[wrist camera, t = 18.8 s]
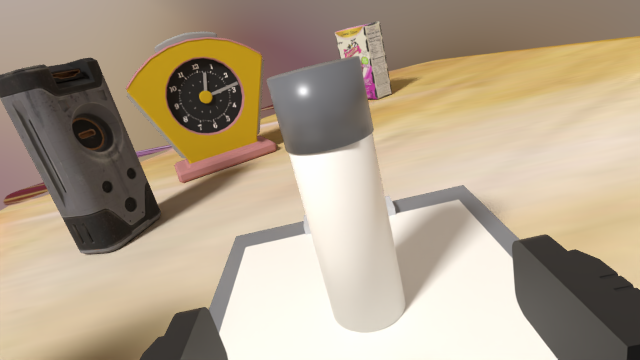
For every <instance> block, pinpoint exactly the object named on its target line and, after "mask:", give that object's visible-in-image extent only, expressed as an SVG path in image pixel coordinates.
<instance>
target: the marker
mask: <svg viewBox="0 0 640 360" xmlns="http://www.w3.org/2000/svg"><path fill="white" fill-rule="evenodd" d="M267 83H268V87H269V91H270V94H271V98H272V101H273V105H274V109H275V112H276V116H277V120H278V123H279V127H280V130H281V134H282V138H283V141H284V145H285V148H286V151H287V152H288V153H289V156H290V159H291V163H292V166H293V170H294V174H295V177H296V181H297V185H298V188H299V192H300V195H301V199H302V203H303V206H304V210H305V214H306V217H307V221H308V224H309V228H310V232H311V235H312V239H313V243H314V246H315V250H316V253H317V257H318V261H319V264H320V268H321V272H322V275H323V279H324V282H325V286H326V290H327V293H328V297H329V301H330V304H331V308H332V311H333V315H334V318H335V320H336V322H337V323H338V324H339V325H340V326H342V327H343V328H345V329H347V330H350V331H354V332H373V331H377V330H381V329H383V328H386V327H388V326H390V325H391V324H393V323H394V322H396V321H397V320H398V319H399V318H400V317H401V315H402V314H403V312H404V310H405V306H406V301H405V296H404V291H403V286H402V281H401V276H400V271H399V265H398V260H397V255H396V250H395V245H394V240H393V235H392V230H391V225H390V220H389V215H388V210H387V205H386V200H385V195H384V190H383V185H382V179H381V174H380V169H379V164H378V159H377V154H376V149H375V144H374V139H373V134H372V132H373V130H374V129H373V124H372V118H371V113H370V108H369V103H368V98H367V93H366V88H365V83H364V78H363V72H362V67H361V62H360V57H359V56H353V57H348V58H342V59H338V60H333V61H329V62H324V63H321V64H316V65H312V66H309V67H304V68H300V69H297V70H293V71H290V72H286V73H283V74H280V75H276V76H274V77H271V78H268V79H267Z"/></svg>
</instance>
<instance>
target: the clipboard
mask: <svg viewBox="0 0 640 360" xmlns="http://www.w3.org/2000/svg"><path fill="white" fill-rule="evenodd" d="M385 200H386V205H387V210H388V215H389V220H390V225H391V230H392V235H393V240H394V245H395V250H396V255H397V260H398V265H399V271H400V276H401V281H402V286H403V291H404V296H405V301H406V306H405V310H404V312H403V314H402V315H401V317H400V318H399V319H398V320H397V321H396V322H394V323H393V324H391V325H390V326H388V327H386V328H383V329H381V330H377V331H373V332H354V331H350V330H347V329H345V328H343V327H342V326H340V325H339V324H338V323H337V322H336V320H335V318H334V315H333V311H332V308H331V304H330V301H329V297H328V293H327V290H326V286H325V282H324V279H323V275H322V272H321V268H320V264H319V261H318V257H317V253H316V250H315V246H314V243H313V239H312V235H311V232H310V228H309V224H308V221H307V217H306V215H304V221H302V222H298V223H294V224H289V225H285V226H280V227H276V228H271V229H267V230H263V231H258V232H254V233H249V234H245V235H240V236H236V238H235V241H234V244H233V246H232V249H231V252H230V254H229V257H228V260H227V262H226V265H225V268H224V271H223V273H222V276H221V279H220V281H219V284H218V287H217V289H216V292H215V295H214V297H213V300H212V303H211V305H210V308H209V311H210V313H211V316H212V318H213V320H214V323H215V325H216V328H217V330H218V333H219V335H220V337H221V340H222V342H223V345H224V347H225V350H226V352H227V357H228V360H558V359H557V358H556V356H555V355H554V354H553V353H552V351H551V350H550V349H549V347H548V346H547V345H546V344H545V342H544V341H543V340H542V338H541V337H540V336H539V334H538V333H537V332H536V331H535V329H534V328H533V327H532V325H531V324H530V323H529V322H528V320H527V319H526V318H525V316H524V315H523V313H522V311H521V309H520V307H519V304H518V302H517V299H516V294H515V285H514V271H513V258H512V244H513V242H514V241H517V240H520V239H519V238H518V237H517V236H515V235H514V234H513V233H512V232H511V231H510V230H509V229H508V228H507V227H506V226H505V225H504V224H503V223H502V222H501V221H500V220H499V219H498V218H497V217H496V216H495V215H494V214H493V213H492V212H491V211H489V210H488V209H487V208H486V207H485V206H484V205H483V204H482V203H481V202H480V201H479V200H478V199H477V198H476V197H475V196H474V195H473V194H472V193H471V192H470V191H469V190H468V189H467V188H466V187H465V186H464V185H462V186H457V187H453V188H449V189H444V190H440V191H435V192H431V193H426V194H422V195H418V196H413V197H409V198H404V199H400V200H395V201H391V199H390V197H389V196H385Z"/></svg>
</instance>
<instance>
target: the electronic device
mask: <svg viewBox="0 0 640 360" xmlns="http://www.w3.org/2000/svg"><path fill="white" fill-rule="evenodd" d="M0 99H1V101H2V103H3V105H4V106H5V109H6V110H7V113H8V114H9V116H10V118H11V120H12V122H13V124H14V126H15V128H16V130H17V131H18V133H19V136H20V137H21V139H22V141H23V143H24V145H25V147H26V149H27V151H28V153H29V155H30V157H31V158H32V160H33V162H34V164H35V166H36V168H37V170H38V172H39V174H40V175H41V178H42V180H43V181H44V183H45V185H46V187H47V189H48V191H49V193H50V195H51V197H52V199H53V201H54V203H55V204H56V206H57V208H58V210H59V212H60V214H61V216H62V218H63V220H64V222H65V224H66V226H67V227H68V229H69V231H70V233H71V235H72V237H73V239H74V241H75V243H76V245H77V247H78V249H79V250H80V252H81V253H85V254H96V253H108V252H112V251H115V250H117V249H119V248H121V247H122V246H124V245H125V244H126V243H127V242H129V241H130V240H131V239H133V238H134V237H135V236H137V235H138V234H139V233H141V232H142V231H143V230H145V229H146V228H147V227H148V226H150V225H151V224H152V223H154V222H155V221H156V220H157V219H159V217H160V215H161V212H160V209H159V207H158V205H157V202H156V200H155V197H154V195H153V193H152V190H151V188H150V186H149V183H148V181H147V178H146V176H145V174H144V171H143V169H142V167H141V164H140V162H139V159H138V157H137V155H136V152H135V150H134V148H133V145H132V143H131V140H130V138H129V136H128V134H127V131H126V129H125V127H124V124H123V122H122V119H121V117H120V114H119V112H118V110H117V107H116V105H115V102H114V100H113V98H112V95H111V93H110V91H109V88H108V86H107V83H106V81H105V79H104V76H103V75H102V72H101V69H100V67H99V64H98V62H97V60H94V59H93V58H85V59H80V60H77V61H73V62H70V63H67V64H62V65H55V66H49V67H47V66H45V65H38V66H32V67H27V68H22V69H18V70H15V71H12V72H8V73H5V74H2V75H0Z"/></svg>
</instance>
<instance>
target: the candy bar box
mask: <svg viewBox="0 0 640 360" xmlns="http://www.w3.org/2000/svg"><path fill="white" fill-rule="evenodd" d="M335 35H336V40H337V45H338V49H339V54H340V59H342V58H348V57H353V56H359V57H360V62H361V67H362V72H363V78H364V83H365V88H366V93H367V98H368V99H381V98H383V97H386V96H388V95H391V94H392V91H391V85H390V79H389V74H388V69H387V62H386V57H385V51H384V45H383V39H382V33H381V28H380V22H374V23H370V24H366V25H361V26H357V27H352V28H348V29H344V30H340V31H337V32H335Z"/></svg>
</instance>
